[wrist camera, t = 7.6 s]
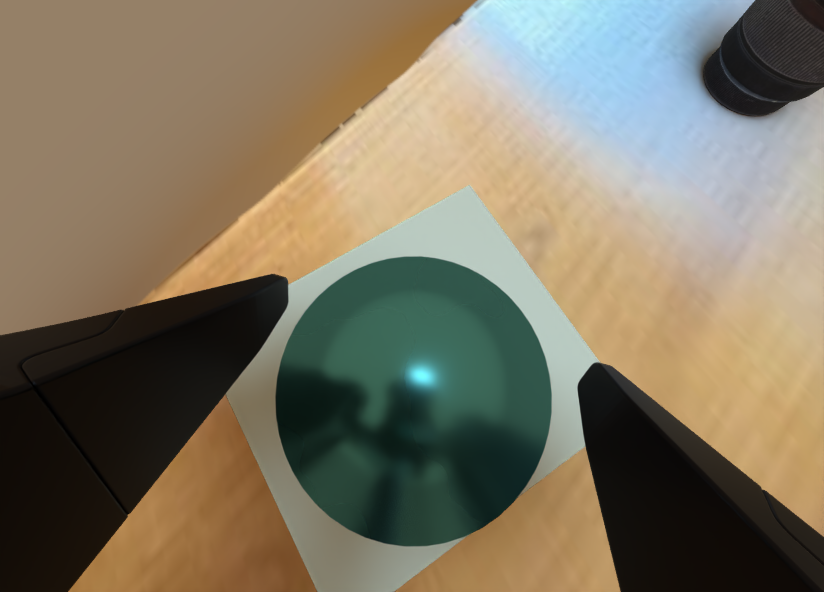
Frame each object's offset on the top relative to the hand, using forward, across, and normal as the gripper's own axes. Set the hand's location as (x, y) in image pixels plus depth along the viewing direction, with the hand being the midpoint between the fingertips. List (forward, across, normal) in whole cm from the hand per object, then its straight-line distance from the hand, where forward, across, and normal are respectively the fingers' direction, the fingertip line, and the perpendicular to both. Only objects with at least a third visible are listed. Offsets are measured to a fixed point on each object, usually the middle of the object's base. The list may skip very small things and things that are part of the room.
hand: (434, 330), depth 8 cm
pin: (+5, 0, +7) cm, 9 cm away
